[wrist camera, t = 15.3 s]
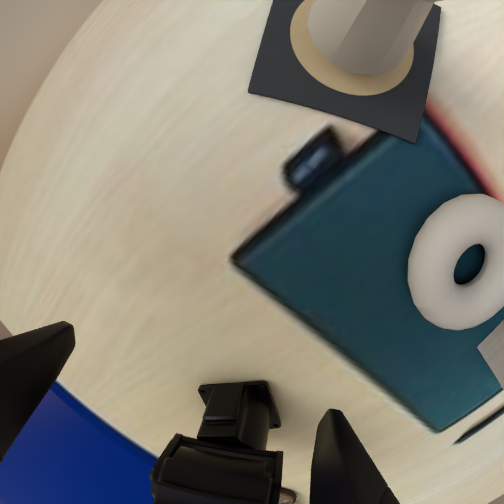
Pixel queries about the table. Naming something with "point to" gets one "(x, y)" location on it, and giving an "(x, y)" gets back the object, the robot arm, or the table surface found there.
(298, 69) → the coaster
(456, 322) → the donut
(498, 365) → the white paper bag
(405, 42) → the salt shaker
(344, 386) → the table surface
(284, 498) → the compass
